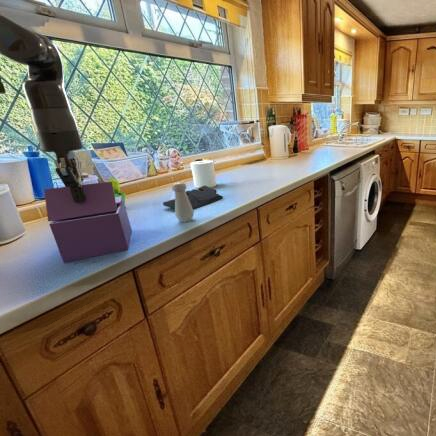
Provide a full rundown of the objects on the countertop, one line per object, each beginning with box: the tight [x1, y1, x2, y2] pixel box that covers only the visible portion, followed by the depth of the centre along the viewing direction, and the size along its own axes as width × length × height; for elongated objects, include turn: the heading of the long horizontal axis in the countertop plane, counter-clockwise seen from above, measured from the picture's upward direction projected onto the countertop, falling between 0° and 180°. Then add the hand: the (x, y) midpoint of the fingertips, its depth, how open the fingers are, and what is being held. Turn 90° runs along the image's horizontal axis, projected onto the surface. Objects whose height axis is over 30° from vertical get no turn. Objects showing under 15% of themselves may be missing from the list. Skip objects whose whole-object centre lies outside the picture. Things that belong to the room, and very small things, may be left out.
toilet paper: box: [190, 160, 218, 189], centre depth 150 cm, size 10×10×12 cm
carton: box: [48, 196, 132, 264], centre depth 84 cm, size 17×14×11 cm
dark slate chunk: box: [162, 186, 224, 210], centre depth 123 cm, size 15×22×5 cm
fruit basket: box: [107, 177, 126, 205], centre depth 120 cm, size 11×9×11 cm
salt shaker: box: [171, 182, 195, 223], centre depth 101 cm, size 6×6×13 cm
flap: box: [43, 181, 117, 222], centre depth 76 cm, size 8×14×1 cm
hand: (80, 201), depth 75 cm, fingers closed
